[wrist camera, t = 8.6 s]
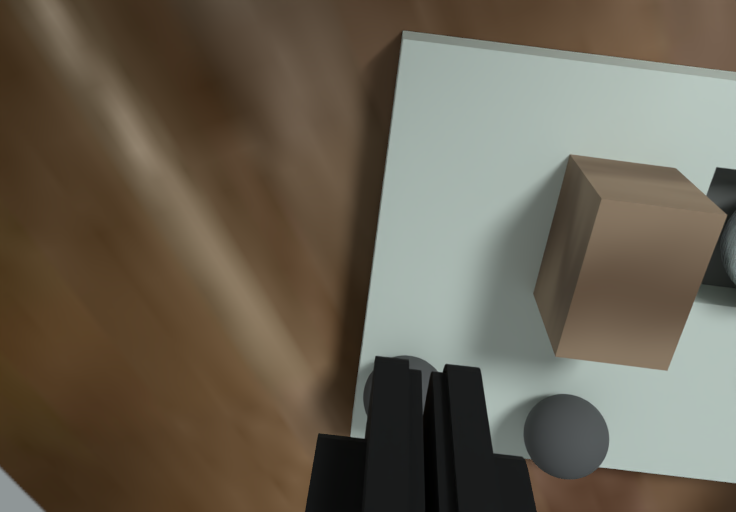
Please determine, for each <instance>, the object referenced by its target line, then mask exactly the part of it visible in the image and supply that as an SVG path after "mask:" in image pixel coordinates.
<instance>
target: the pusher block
mask: <svg viewBox="0 0 736 512" xmlns="http://www.w3.org/2000/svg"><path fill="white" fill-rule="evenodd" d="M726 217H727V214H726V213H725V212H723V211H722V210H721V209H720V208H719V207H718V206H717V205H716V204H715V203H714V202H713V201H711V200H710V199H709V198H708V197H707V196H706V195H705V194H704V193H703V192H702V191H700V190H699V189H698V188H697V187H696V186H695V185H694V184H693V183H692V182H691V181H690V180H688V179H687V178H686V177H685V176H684V175H683V174H682V173H681V172H680V171H679V170H677V169H676V168H672V167H664V166H656V165H649V164H641V163H633V162H626V161H618V160H610V159H603V158H595V157H587V156H580V155H572V154H570V156H569V159H568V163H567V167H566V171H565V175H564V178H563V182H562V186H561V190H560V194H559V197H558V201H557V205H556V209H555V213H554V216H553V220H552V224H551V228H550V232H549V235H548V239H547V243H546V247H545V251H544V254H543V258H542V262H541V266H540V270H539V274H538V277H537V281H536V285H535V289H534V293H533V295H534V298H535V300H536V303H537V306H538V309H539V312H540V315H541V317H542V320H543V323H544V326H545V329H546V332H547V334H548V337H549V340H550V343H551V346H552V349H553V351H554V354H555V357H562V358H570V359H577V360H585V361H593V362H601V363H609V364H617V365H625V366H633V367H641V368H649V369H657V370H665V371H668V368H669V365H670V363H671V360H672V358H673V355H674V352H675V350H676V347H677V345H678V342H679V339H680V337H681V334H682V332H683V329H684V326H685V324H686V321H687V319H688V316H689V314H690V311H691V308H692V306H693V303H694V301H695V298H696V295H697V293H698V290H699V288H700V285H701V282H702V280H703V277H704V275H705V272H706V269H707V267H708V264H709V262H710V259H711V256H712V254H713V251H714V249H715V246H716V243H717V241H718V238H719V236H720V233H721V230H722V228H723V225H724V223H725V220H726Z"/></svg>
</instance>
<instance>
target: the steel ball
mask: <svg viewBox="0 0 736 512" xmlns="http://www.w3.org/2000/svg"><path fill="white" fill-rule="evenodd" d="M720 252H721V259H722V262H723V266H724V268H725V270H726V272H727V274H728V276H729V277H730V278H731V280H732V281H733V282H734V284H735V285H736V211H735V212H734V213H733V214H732V216H731V217H730V219H729V220H728V222H727V223H726V225H725V228H724V230H723V233H722V237H721V245H720Z"/></svg>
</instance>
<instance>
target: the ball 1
mask: <svg viewBox="0 0 736 512" xmlns="http://www.w3.org/2000/svg"><path fill="white" fill-rule="evenodd" d="M392 358H400V359H409V369H417V370H421V372H422V405H423V412H424V406H425V401H426V395H427V389H428V384H429V378H430V374H431V372H432V371H434V372H438V371H437V370H436V369H435V368H434V367H433V366H432V365H431V364H429V363H428V362H427V361H425V360H423V359H421V358H418V357H415V356H408V355H401V356H395V357H392ZM372 376H373V371H372V372H371V374H370V375H369V377H368V379H367V381H366V384H365V387H364V392H363V403H364V409H365V412H366V415H368V407H369V400H370V392H371V384H372Z"/></svg>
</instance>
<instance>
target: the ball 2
mask: <svg viewBox="0 0 736 512" xmlns="http://www.w3.org/2000/svg"><path fill="white" fill-rule="evenodd" d="M523 436H524V443H525V447H526V449H527V452H528V454H529V456H530V458H531V459H532V460H533V462H534V463H535V464H536V465H537V466H538V467H539V468H540V469H541V470H543V471H544V472H546V473H548V474H549V475H551V476H554V477H557V478H561V479H578V478H582V477H585V476H587V475H589V474H591V473H592V472H593V471H595V470H596V469H597V468H598V467H599V466H600V465H601V464H602V462H603V461H604V459H605V457H606V455H607V452H608V448H609V431H608V427H607V424H606V422H605V420H604V418H603V416H602V415H601V413H600V412H599V411H598V409H597V408H596V407H595V406H593V405H592V404H591V403H590V402H588V401H587V400H585V399H583V398H581V397H578V396H575V395H570V394H556V395H552V396H549V397H546V398H544V399H543V400H541V401H540V402H538V403H537V404H536V405H535V406H534V407H533V408H532V409H531V411H530V412H529V414H528V416H527V418H526V421H525V424H524V433H523Z"/></svg>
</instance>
